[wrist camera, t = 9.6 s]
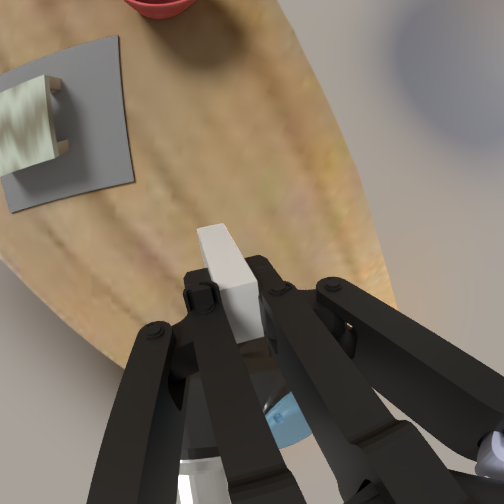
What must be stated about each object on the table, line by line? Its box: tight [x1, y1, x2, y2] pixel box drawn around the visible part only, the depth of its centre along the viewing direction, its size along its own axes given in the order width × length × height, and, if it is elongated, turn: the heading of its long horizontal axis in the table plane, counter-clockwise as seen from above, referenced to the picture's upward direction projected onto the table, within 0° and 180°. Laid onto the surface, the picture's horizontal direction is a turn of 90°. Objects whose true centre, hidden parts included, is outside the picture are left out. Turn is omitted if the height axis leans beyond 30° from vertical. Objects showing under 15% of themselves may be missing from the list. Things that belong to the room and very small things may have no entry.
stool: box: [0, 75, 70, 177], centre depth 26 cm, size 10×6×10 cm
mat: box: [0, 35, 134, 213], centre depth 30 cm, size 20×20×1 cm
